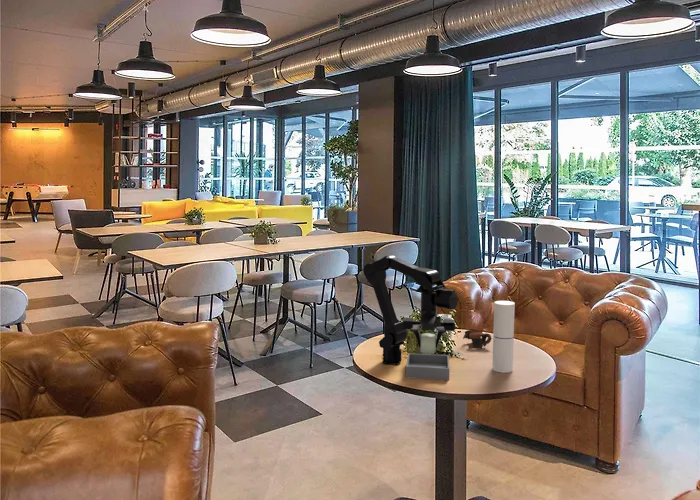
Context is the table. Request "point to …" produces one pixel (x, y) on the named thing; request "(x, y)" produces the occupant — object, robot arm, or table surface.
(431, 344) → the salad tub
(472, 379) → the table surface
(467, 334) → the pottery mug
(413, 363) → the bin
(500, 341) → the cylindrical container
